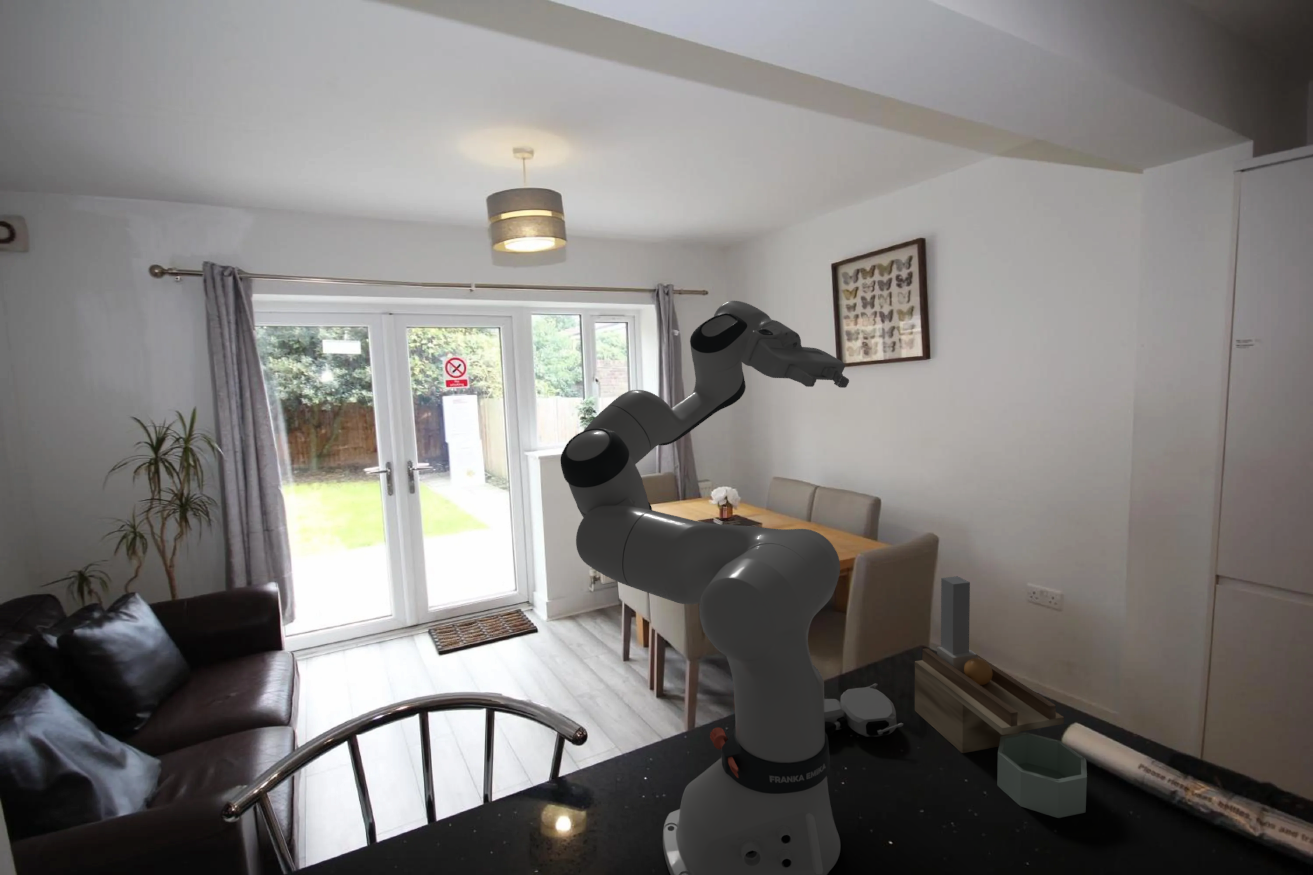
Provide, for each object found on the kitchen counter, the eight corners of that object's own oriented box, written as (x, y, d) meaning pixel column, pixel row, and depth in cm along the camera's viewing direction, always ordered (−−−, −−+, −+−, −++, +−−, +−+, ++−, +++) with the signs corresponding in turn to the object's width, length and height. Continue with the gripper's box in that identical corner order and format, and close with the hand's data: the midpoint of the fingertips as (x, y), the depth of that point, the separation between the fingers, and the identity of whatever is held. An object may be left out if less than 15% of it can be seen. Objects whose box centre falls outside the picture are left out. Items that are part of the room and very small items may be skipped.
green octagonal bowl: (1038, 822, 79) (1039, 786, 78) (982, 771, 89) (982, 739, 88) (1104, 808, 80) (1106, 773, 80) (1042, 760, 90) (1043, 728, 90)
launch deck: (1001, 788, 85) (1002, 714, 84) (914, 710, 105) (914, 650, 103) (1062, 775, 87) (1064, 703, 86) (966, 702, 106) (966, 642, 105)
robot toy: (812, 755, 96) (908, 746, 95) (810, 729, 95) (906, 719, 94) (796, 712, 108) (881, 703, 107) (794, 688, 107) (879, 679, 107)
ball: (975, 691, 93) (976, 666, 93) (958, 678, 97) (958, 655, 97) (998, 687, 94) (998, 663, 94) (980, 675, 98) (980, 651, 98)
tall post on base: (952, 674, 98) (953, 586, 96) (937, 662, 102) (937, 578, 100) (976, 670, 99) (978, 583, 97) (960, 659, 103) (961, 575, 101)
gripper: (805, 365, 124) (856, 399, 115) (734, 361, 111) (784, 399, 102) (818, 337, 121) (871, 369, 112) (747, 330, 109) (800, 365, 99)
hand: (829, 383), depth 107 cm, fingers open, 8 cm apart
